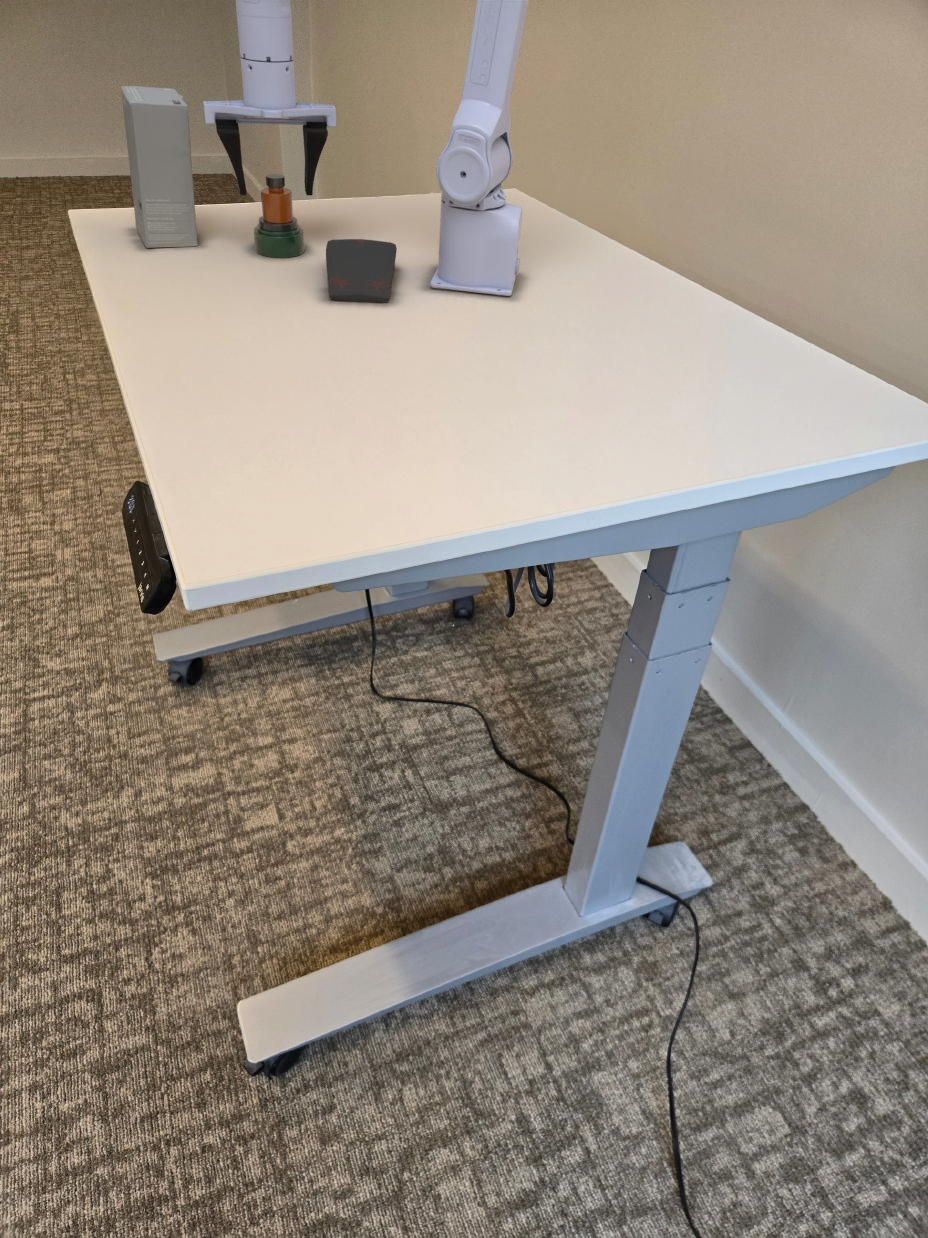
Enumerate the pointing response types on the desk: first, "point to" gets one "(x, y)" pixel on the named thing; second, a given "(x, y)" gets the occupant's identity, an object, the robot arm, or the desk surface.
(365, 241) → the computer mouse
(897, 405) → the desk surface
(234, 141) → the robot arm
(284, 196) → the amber bottle
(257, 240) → the green jar with lid
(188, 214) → the cosmetic box
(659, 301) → the desk surface
